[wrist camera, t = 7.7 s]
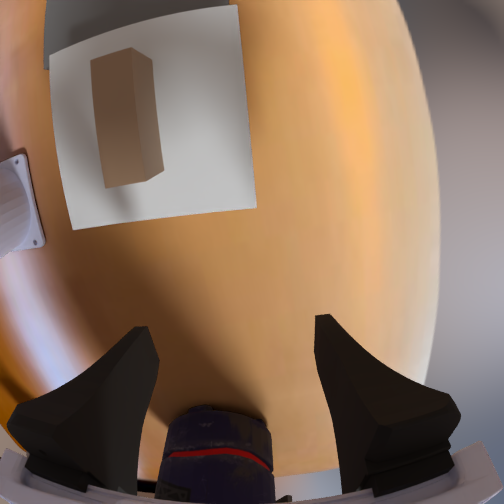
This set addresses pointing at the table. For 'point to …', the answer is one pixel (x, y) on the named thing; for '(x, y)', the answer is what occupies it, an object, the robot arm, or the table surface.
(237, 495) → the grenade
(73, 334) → the table surface
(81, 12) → the mat
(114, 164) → the lid
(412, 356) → the table surface
